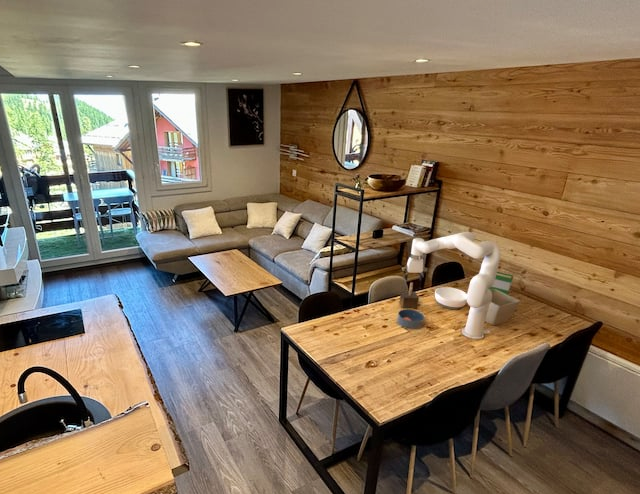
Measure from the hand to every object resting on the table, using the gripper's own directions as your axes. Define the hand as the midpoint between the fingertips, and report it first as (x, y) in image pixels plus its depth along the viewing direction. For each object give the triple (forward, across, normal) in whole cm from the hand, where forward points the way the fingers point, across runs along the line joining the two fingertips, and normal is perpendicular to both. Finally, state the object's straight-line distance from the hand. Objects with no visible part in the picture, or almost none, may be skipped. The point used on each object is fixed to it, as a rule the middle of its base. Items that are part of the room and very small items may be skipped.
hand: (413, 279), depth 269 cm
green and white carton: (+22, -60, -10) cm, 65 cm away
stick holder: (+21, +1, -1) cm, 21 cm away
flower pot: (+22, -51, +13) cm, 57 cm away
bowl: (+21, -30, -7) cm, 38 cm away
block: (+20, +8, +26) cm, 34 cm away
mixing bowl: (+21, +5, +24) cm, 32 cm away
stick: (+21, +1, -1) cm, 21 cm away
